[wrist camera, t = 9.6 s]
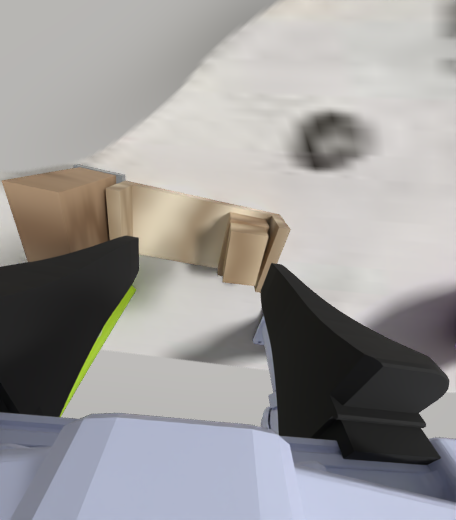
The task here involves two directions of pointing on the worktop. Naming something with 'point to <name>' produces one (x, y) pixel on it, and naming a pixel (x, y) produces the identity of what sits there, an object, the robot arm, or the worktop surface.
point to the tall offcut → (60, 211)
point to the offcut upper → (244, 253)
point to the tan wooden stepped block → (184, 225)
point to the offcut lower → (232, 219)
